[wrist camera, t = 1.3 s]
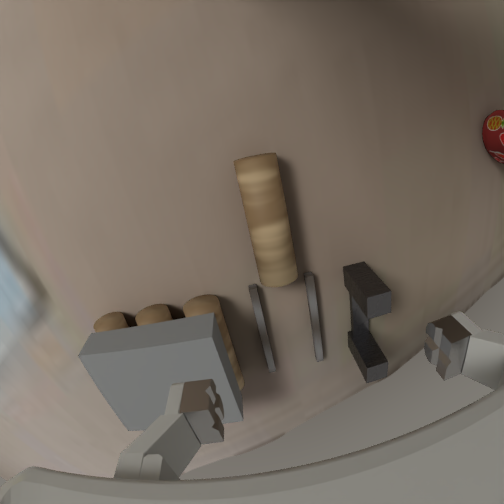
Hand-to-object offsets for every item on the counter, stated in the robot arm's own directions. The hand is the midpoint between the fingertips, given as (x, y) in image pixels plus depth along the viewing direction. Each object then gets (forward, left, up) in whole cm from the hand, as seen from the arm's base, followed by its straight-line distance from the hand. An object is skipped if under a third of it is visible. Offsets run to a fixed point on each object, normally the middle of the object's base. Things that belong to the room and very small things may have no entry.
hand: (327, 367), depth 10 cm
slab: (+13, -14, -18) cm, 26 cm away
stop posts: (+13, +8, -22) cm, 27 cm away
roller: (0, 0, -22) cm, 22 cm away
